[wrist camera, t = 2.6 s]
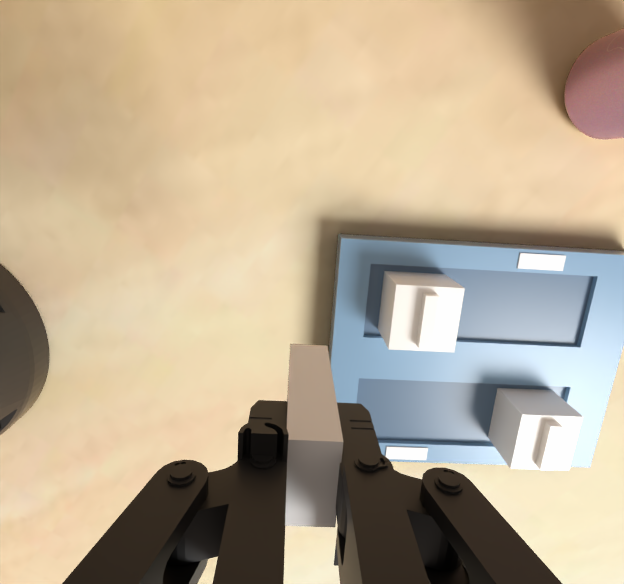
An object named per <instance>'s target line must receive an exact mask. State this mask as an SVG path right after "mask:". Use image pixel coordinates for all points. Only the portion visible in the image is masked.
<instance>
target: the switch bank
mask: <svg viewBox="0 0 624 584" xmlns="http://www.w3.org/2000/svg"><path fill="white" fill-rule="evenodd" d="M384 271H397V272H415V273H433V274H445V275H447V276H448V277H450V278H451V279H452V280H454V281H455V282H457V283H458V284H460V285H461V286H462V287H464V288H465V291H464V297H463V303H462V309H461V315H460V321H459V327H458V333H457V339H456V345H455V351H454V352H433V351H411V350H389V349H388V347H387V346H386V344H385V342H384V340H383V338H382V336H381V334H380V332H379V330H378V322H379V313H380V305H381V296H382V287H383V278H384ZM623 346H624V251H618V250H601V249H585V248H568V247H551V246H535V245H518V244H501V243H485V242H468V241H451V240H435V239H418V238H401V237H385V236H368V235H351V234H338V244H337V256H336V269H335V281H334V293H333V305H332V318H331V330H330V342H329V359H330V365H331V371H332V377H333V383H334V389H335V395H336V401H337V403H359V404H362V405H363V406H364V407H365V408H366V409H367V410H368V411H369V412H370V416H371V419H372V423H373V426H374V430H375V433H376V436H377V439H378V443H379V446H380V449H381V453H382V454H383V455H384V456H385V457H387V458H388V459H389V461H398V462H431V463H463V464H495V465H507V463H506V462H505V460H504V459H503V458H502V456H501V455H500V453H499V452H498V451H497V449H496V448H495V447H494V445H493V444H492V442H491V441H490V440H489V438H488V434H489V429H490V424H491V419H492V414H493V409H494V403H495V398H496V393H497V388H511V389H536V390H553V391H554V392H555V393H556V394H557V395H558V396H560V397H561V398H562V399H563V400H564V401H565V402H567V403H568V404H569V405H570V406H571V407H572V408H574V409H575V410H576V411H577V412H578V413H579V414H581V415H582V416H583V420H582V424H581V427H580V431H579V435H578V439H577V443H576V447H575V450H574V454H573V458H572V462H571V466H570V467H590V466H591V462H592V459H593V455H594V451H595V448H596V444H597V440H598V437H599V433H600V429H601V426H602V422H603V419H604V415H605V411H606V408H607V404H608V400H609V397H610V393H611V389H612V386H613V382H614V378H615V375H616V371H617V368H618V364H619V360H620V357H621V353H622V349H623Z"/></svg>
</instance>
